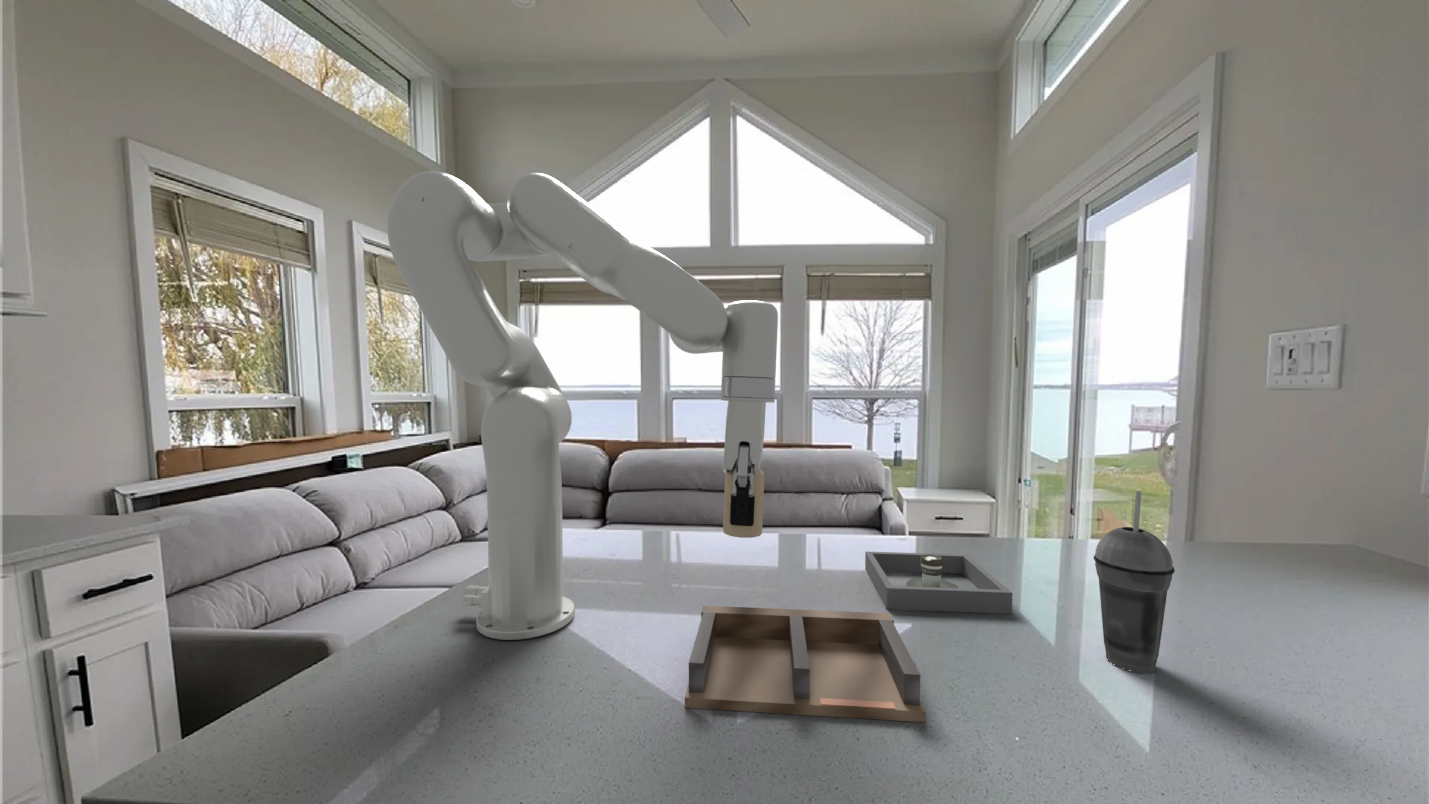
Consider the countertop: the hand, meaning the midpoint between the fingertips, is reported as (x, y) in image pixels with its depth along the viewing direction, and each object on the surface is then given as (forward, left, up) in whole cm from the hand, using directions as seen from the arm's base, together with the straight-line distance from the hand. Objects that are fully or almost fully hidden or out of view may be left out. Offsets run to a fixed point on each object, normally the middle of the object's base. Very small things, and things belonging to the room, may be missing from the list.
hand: (742, 518), depth 75 cm
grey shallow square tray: (+29, +11, -13) cm, 34 cm away
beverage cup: (+45, -10, -13) cm, 48 cm away
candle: (0, 0, -2) cm, 2 cm away
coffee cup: (+29, +11, -13) cm, 34 cm away
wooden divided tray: (+7, -16, -13) cm, 22 cm away
